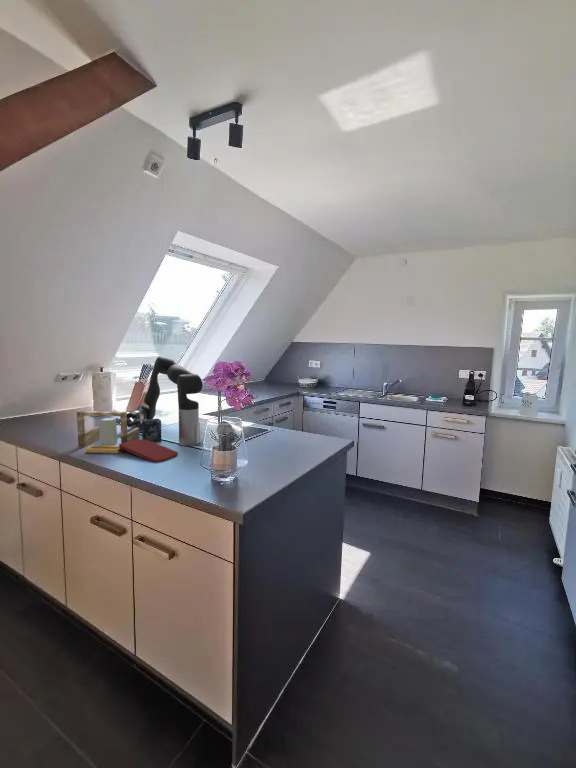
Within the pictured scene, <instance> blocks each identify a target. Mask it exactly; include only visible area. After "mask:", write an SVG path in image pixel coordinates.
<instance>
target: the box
mask: <svg viewBox="0 0 576 768" xmlns="http://www.w3.org/2000/svg"><path fill="white" fill-rule="evenodd" d="M141 432H142V433H141V434H142V435H141V436H142V439H144V440H149V441H151V442H154V443H158V442H162V420H161V419H160V418H153V419H147V420H146V419H145V420H142V424H141Z"/></svg>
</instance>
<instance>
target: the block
mask: <svg viewBox="0 0 576 768" xmlns="http://www.w3.org/2000/svg"><path fill="white" fill-rule="evenodd" d="M116 418H117V417H116ZM116 418H115V417H112V418H111V417H105V418H103V419H100V421H99V423H100V426H99V427H100V444H101V445H100V446H116V444H118V434H117V433H118V431H117V429H118V427H117V425H116Z"/></svg>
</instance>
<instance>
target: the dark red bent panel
mask: <svg viewBox="0 0 576 768" xmlns="http://www.w3.org/2000/svg"><path fill="white" fill-rule="evenodd" d="M118 446H119V448H120V453H121V454H123V453H126V452H129V453H131V454H133V455H136V456H137V457H141V458H143V459H145V460H147V461H149V462H152V463H155V464H156V463H157V464H158V463H163V462H166V461H168V460H171V459H174V458H176V457H178V453H179V452H178V451H176V450H174V449H171V448H168V447H166V446H163V445H162V444H161V445H160V444H158V443H157V442H151V441H149V440H144V439H141V438H139V439H137V440H132V441H128V442H125V443H121V442H120V443H119V444H118Z"/></svg>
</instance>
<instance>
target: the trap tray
mask: <svg viewBox="0 0 576 768" xmlns="http://www.w3.org/2000/svg"><path fill="white" fill-rule="evenodd" d="M120 453H121V452H120V448H119V445H113V446H101V445H97V444H96V445H90V446H88V447H87V448H85V454H108V455H109V454H110V455H111V454H113V455H115V454H117V455H118V454H120Z"/></svg>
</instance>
